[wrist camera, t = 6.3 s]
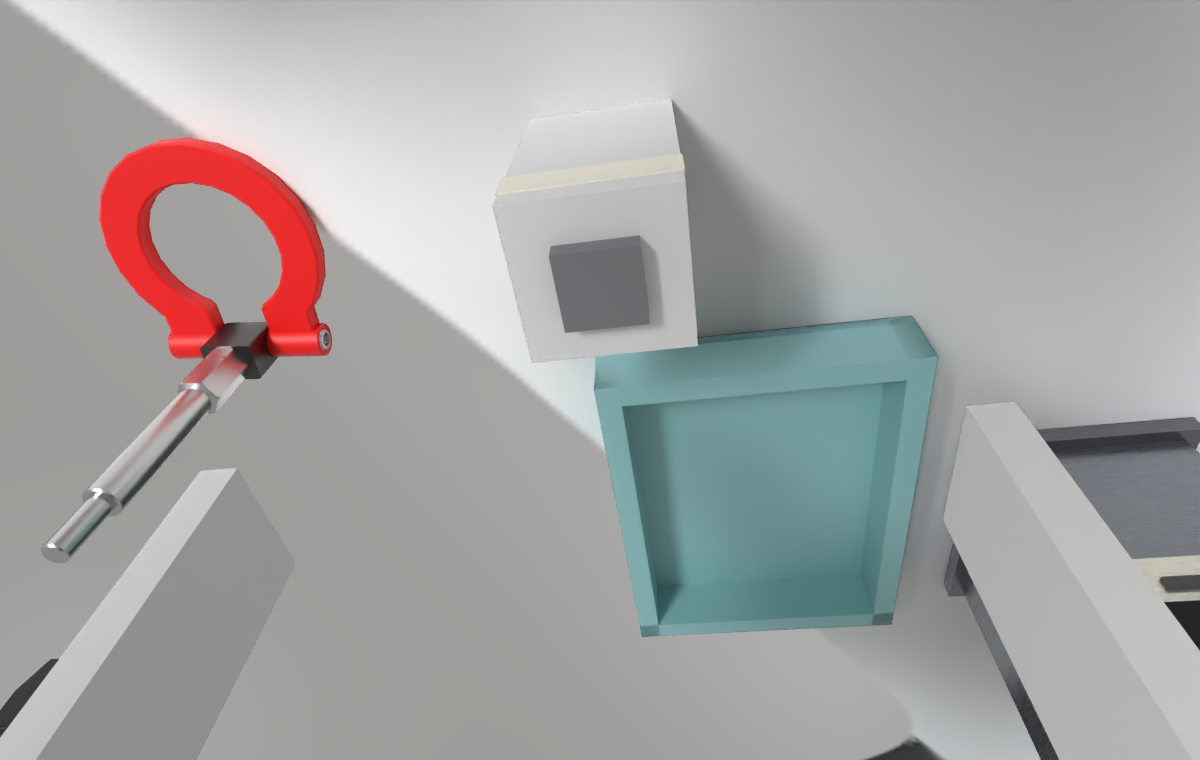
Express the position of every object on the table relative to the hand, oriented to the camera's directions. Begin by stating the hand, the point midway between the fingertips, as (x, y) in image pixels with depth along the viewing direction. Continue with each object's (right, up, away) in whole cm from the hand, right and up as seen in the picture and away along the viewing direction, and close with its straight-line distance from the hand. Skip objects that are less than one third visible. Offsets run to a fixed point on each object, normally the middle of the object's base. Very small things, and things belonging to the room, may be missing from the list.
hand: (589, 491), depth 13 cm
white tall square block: (+1, +10, +13) cm, 16 cm away
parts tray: (+8, -3, +21) cm, 23 cm away
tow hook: (-15, +7, +15) cm, 23 cm away
